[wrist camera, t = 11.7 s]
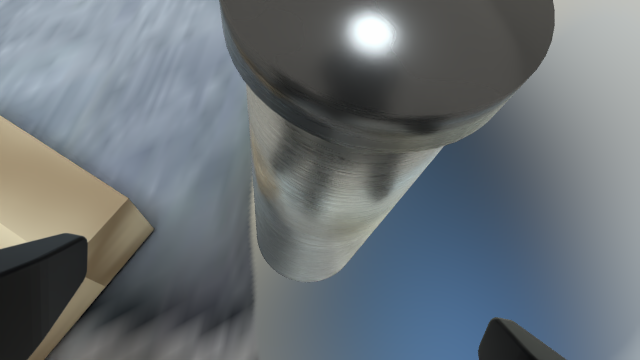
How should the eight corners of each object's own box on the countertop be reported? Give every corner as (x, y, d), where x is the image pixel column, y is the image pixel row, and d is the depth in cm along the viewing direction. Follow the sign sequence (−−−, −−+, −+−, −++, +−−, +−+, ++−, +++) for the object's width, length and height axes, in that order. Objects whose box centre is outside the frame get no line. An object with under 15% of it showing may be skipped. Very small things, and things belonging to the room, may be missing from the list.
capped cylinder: (289, 313, 16) (354, 185, 4) (228, 213, 17) (151, -90, 6) (385, 248, 18) (620, 26, 6) (322, 162, 19) (412, -157, 7)
